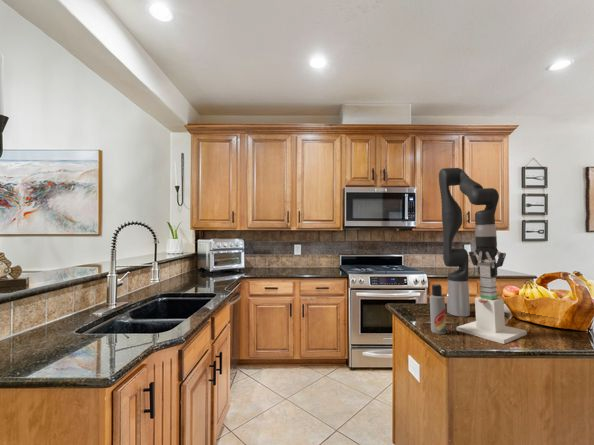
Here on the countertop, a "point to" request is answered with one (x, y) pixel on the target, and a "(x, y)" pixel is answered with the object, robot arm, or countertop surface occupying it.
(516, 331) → the stand
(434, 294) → the lotion bottle
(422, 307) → the countertop surface
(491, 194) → the robot arm
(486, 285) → the post
